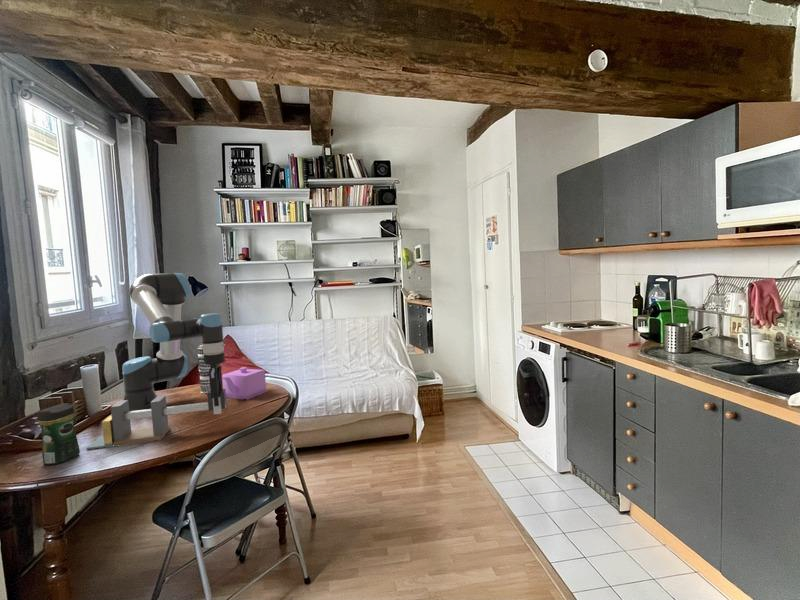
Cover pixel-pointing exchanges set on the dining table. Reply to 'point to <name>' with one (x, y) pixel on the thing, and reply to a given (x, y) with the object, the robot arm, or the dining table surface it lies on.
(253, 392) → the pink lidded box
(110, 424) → the spacer
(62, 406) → the coffee jar
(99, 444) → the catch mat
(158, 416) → the bracket
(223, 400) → the shaft
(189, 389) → the dining table surface
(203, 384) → the decorative candle
